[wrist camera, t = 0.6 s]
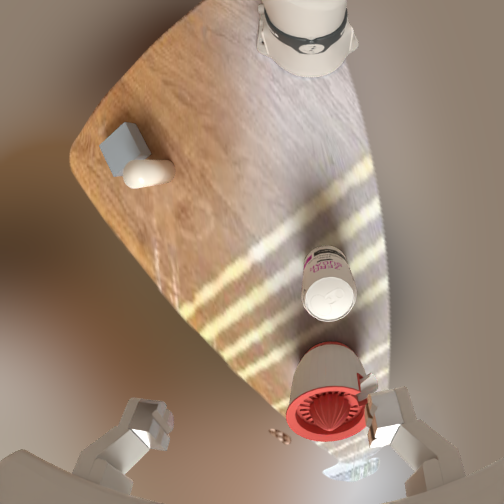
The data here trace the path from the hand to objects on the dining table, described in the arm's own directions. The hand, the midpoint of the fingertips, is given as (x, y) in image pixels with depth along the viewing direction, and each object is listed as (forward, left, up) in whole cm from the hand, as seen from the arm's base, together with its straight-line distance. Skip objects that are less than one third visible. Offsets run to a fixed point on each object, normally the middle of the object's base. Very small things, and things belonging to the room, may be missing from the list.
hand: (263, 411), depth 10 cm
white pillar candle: (-11, -26, -44) cm, 53 cm away
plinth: (-17, -34, -44) cm, 58 cm away
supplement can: (+9, +4, -45) cm, 46 cm away
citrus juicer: (+31, +6, -45) cm, 55 cm away
